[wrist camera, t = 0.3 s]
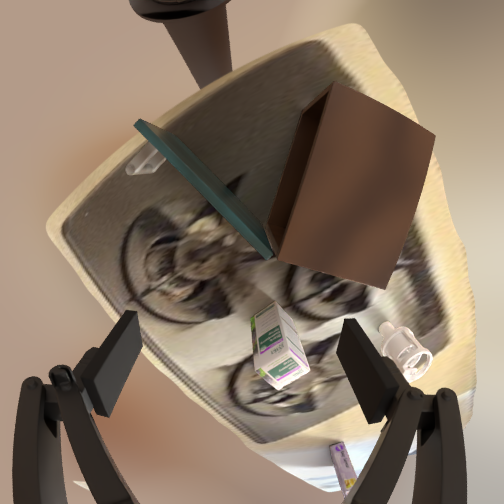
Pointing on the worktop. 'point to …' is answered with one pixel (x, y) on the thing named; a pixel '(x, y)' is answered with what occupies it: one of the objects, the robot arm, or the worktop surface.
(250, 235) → the cupboard door
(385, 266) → the cupboard
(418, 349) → the white slotted fitting
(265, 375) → the syrup box
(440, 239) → the worktop surface
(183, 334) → the worktop surface
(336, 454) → the purple printed carton
